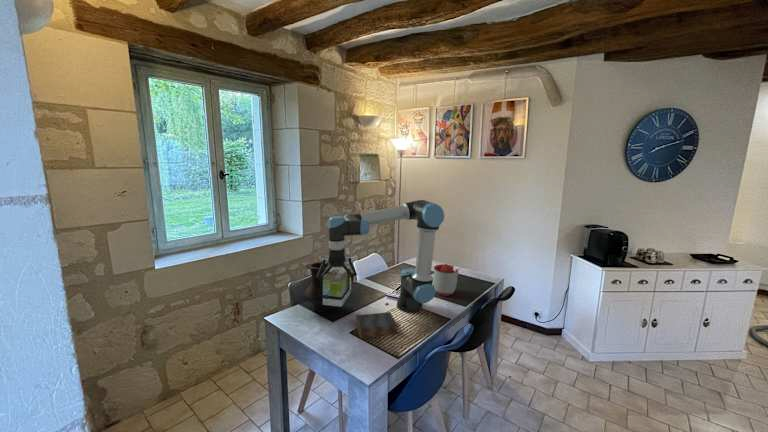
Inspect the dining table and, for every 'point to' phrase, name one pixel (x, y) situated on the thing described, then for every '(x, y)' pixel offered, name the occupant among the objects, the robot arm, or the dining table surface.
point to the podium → (376, 325)
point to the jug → (316, 287)
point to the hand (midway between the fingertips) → (337, 289)
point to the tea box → (336, 286)
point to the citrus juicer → (445, 279)
